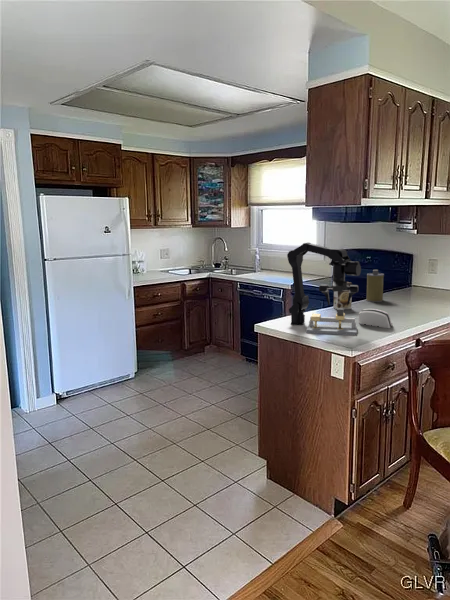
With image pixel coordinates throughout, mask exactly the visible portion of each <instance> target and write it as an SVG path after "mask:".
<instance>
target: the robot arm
mask: <svg viewBox="0 0 450 600" xmlns="http://www.w3.org/2000/svg"><path fill="white" fill-rule="evenodd" d="M308 252H309V253H314V254H318V255H322V256H325V257H327V258H328V259H330V260H332V261H330V262H329V263H328V266H332V267H333V268H332V283H331V285H329V284H328V283H327V284H325V283H321V284H320V285H319V287H318V291H319V292H321V293H322V294H323V295H324V296H325V298H326V301H327V305H328V306H329V305H330V291H333V293H334V292H336V291H339V292H342V291H343V290H349V296H348V302H347V306H348V305H349V302H350V299H351V297H352V298H353V295H355V294H356V293H359V285H358V284H352V285H350V287H347V282H348V281H346V275H347V276H355V277H359V276H360V275H361V273H362V267H361V263H360V261H352V259H350V256H349V255H348V252H347V249H345V248H341V247H335V248H334V247H327V246H322V245H319V244H315V243H311V242H304V243H302V244H301V245H299V246H298V247H296V248H295V249H292V250H290V251H288V252H287V253H286V257H287V260H288V264H289V265H290V267H291V271H292V278H293V289H294V296H293V299H292V305H291V307H289V309H288V312H289V314H290V315H291V316H290V318H291V319H290V320H291V321H290V325H295V326H296V325H299V326H301V325H302V326H303V325H304V323H305V322H306V315H305V311H306V309H308V307H309V304H310V300H309V299H310V298H309V295H306V294H305V290H304V289H305V288H304V281H303V272H302V264H303V261H304V255H306V254H307V253H308ZM329 290H330V291H329Z"/></svg>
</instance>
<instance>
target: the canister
mask: <svg viewBox="0 0 450 600" xmlns="http://www.w3.org/2000/svg"><path fill="white" fill-rule="evenodd" d="M384 277H385V273H381V272H379V269H372V272H369V273H367V274H366V298H365V299H366V300H365V301H367V302H371V303H380V302H381V303H382V302H383V301H384Z"/></svg>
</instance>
